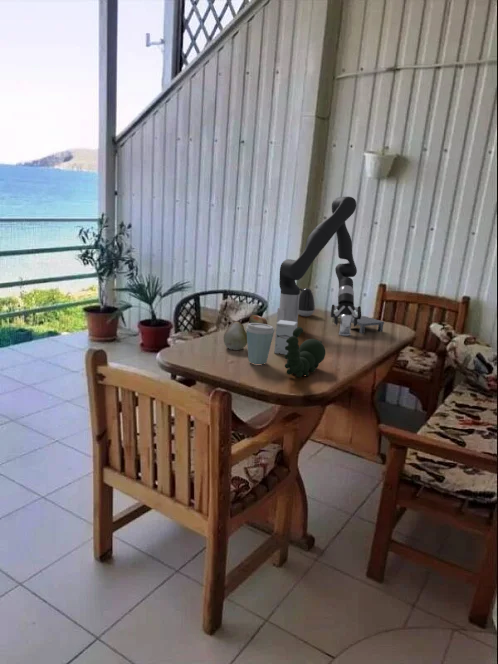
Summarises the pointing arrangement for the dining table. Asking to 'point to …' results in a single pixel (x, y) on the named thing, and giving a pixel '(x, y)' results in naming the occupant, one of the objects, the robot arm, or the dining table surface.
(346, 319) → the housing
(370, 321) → the stand
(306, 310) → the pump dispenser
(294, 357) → the toy figurine
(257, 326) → the disposable coffee cup
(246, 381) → the dining table surface
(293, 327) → the supplement box
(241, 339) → the fruit
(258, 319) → the tin
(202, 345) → the dining table surface
